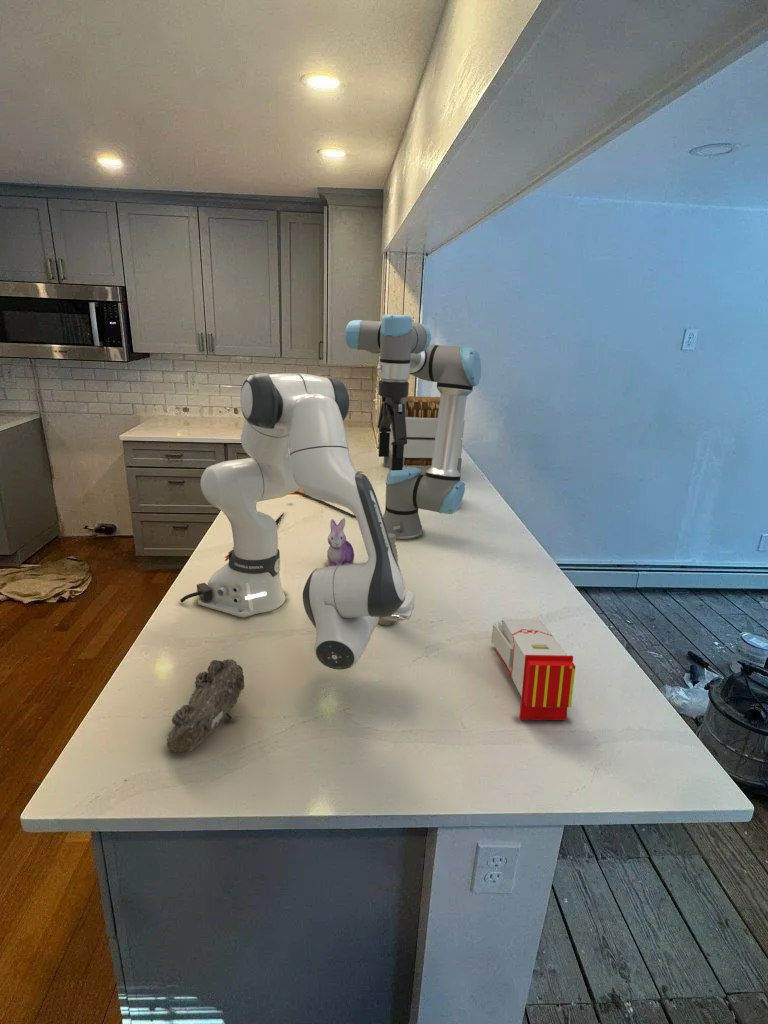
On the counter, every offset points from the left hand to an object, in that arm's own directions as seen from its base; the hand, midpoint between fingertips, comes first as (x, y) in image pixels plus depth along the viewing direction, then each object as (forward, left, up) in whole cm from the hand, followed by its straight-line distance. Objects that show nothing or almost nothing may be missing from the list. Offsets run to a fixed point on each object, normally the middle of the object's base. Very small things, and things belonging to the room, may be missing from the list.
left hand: (374, 582), depth 127 cm
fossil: (-24, -31, -17) cm, 43 cm away
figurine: (-20, +40, -17) cm, 48 cm away
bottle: (0, +13, -17) cm, 21 cm away
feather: (-53, +74, -17) cm, 93 cm away
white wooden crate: (-14, +152, -17) cm, 154 cm away
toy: (+35, -2, -17) cm, 39 cm away
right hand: (-4, +30, +20) cm, 36 cm away
